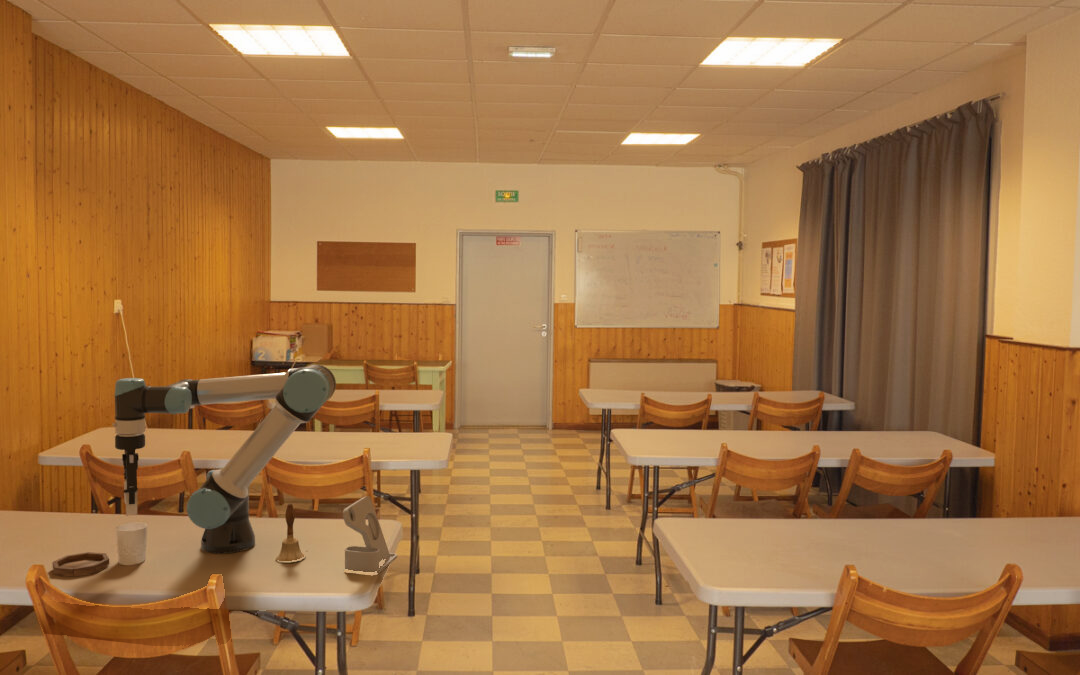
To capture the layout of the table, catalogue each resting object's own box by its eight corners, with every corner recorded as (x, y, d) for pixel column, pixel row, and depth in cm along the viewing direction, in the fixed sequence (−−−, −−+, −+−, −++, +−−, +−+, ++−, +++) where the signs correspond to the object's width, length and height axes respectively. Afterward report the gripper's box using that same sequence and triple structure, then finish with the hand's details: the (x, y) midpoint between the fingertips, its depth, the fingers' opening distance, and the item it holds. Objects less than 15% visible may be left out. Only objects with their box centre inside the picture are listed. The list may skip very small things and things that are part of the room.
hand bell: (269, 561, 233) (269, 506, 231) (287, 552, 240) (287, 499, 239) (293, 565, 230) (293, 509, 229) (311, 556, 238) (311, 502, 236)
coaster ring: (118, 561, 230) (118, 554, 229) (86, 578, 217) (86, 570, 217) (76, 558, 231) (76, 551, 231) (42, 574, 219) (42, 566, 218)
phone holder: (375, 576, 222) (375, 511, 221) (340, 573, 224) (340, 509, 223) (398, 556, 239) (399, 495, 238) (366, 553, 241) (366, 493, 240)
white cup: (126, 568, 225) (126, 532, 224) (110, 562, 229) (109, 527, 228) (153, 560, 231) (153, 525, 231) (137, 554, 236) (136, 520, 235)
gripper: (113, 427, 237) (114, 499, 238) (116, 443, 215) (116, 522, 216) (142, 425, 240) (142, 496, 242) (147, 441, 219) (148, 519, 220)
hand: (130, 508), depth 229 cm, fingers open, 13 cm apart
